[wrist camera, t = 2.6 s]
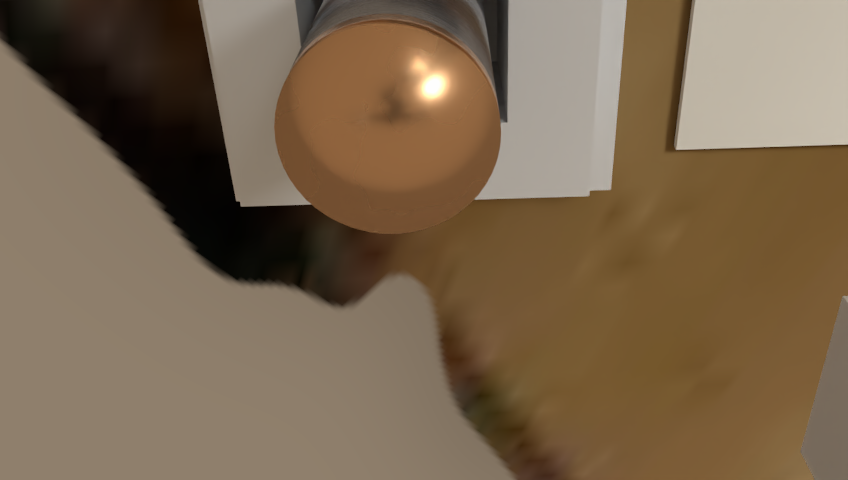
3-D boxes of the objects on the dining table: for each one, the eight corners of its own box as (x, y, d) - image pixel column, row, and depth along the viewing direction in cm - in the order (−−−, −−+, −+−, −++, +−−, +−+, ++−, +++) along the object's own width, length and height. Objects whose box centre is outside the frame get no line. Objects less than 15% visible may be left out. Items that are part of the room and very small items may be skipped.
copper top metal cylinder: (335, -89, 29) (257, 29, 17) (477, -96, 28) (501, 19, 16) (348, 49, 31) (290, 237, 19) (478, 44, 31) (500, 231, 19)
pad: (712, -160, 29) (715, -160, 29) (1057, -177, 28) (1065, -176, 28) (673, 146, 35) (675, 150, 35) (956, 136, 35) (961, 140, 34)
